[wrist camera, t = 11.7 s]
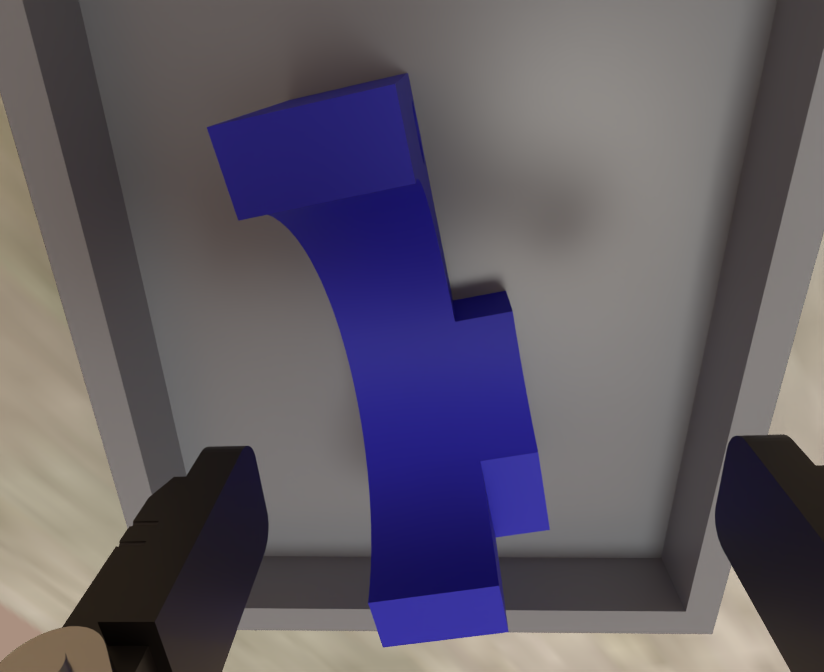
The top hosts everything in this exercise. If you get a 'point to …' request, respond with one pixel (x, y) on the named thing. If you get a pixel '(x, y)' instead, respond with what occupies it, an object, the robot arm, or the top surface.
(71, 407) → the top surface
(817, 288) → the top surface
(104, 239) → the tray
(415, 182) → the blue curved block
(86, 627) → the robot arm
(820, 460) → the top surface
